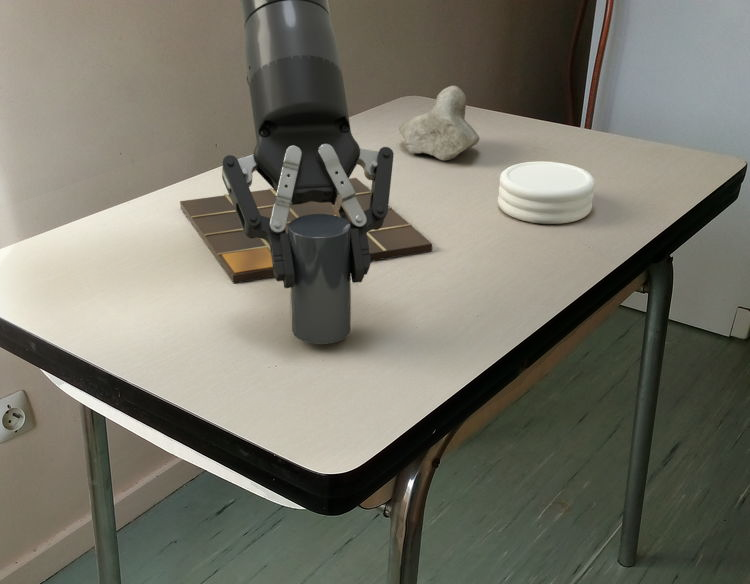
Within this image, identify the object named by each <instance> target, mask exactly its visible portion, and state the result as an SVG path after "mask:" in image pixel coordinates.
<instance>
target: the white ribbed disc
mask: <svg viewBox="0 0 750 584" xmlns="http://www.w3.org/2000/svg"><path fill="white" fill-rule="evenodd" d="M595 188H596V180H595V178H594V176H593V175H592V174H591V173H590V172H589V171H587V170H586V169H583V168H582V167H579V166H576V165H572V164H568V163H563V162H557V161H543V160H541V161H527V162H521V163H516V164H513V165H511V166H508V167H507V168H506V169H504V170H503V171H502V172H501V173H500V175H499V187H498V197H497V205H498V207H499V209H500V210H501V211H502V212H503V213H504V214H506V215H508V216H510V217H511V218H513V219H516V220H519V221H524V222H528V223H534V224H540V225H541V224H542V225H559V224H561V225H562V224H568V223H569V224H570V223H572V222H576V221H579V220H582V219H583V218H586V216H588V215H589V214H590V213H591V211H592V209H593V200H594V197H595V193H594V190H595Z"/></svg>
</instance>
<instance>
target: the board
mask: <svg viewBox="0 0 750 584" xmlns="http://www.w3.org/2000/svg"><path fill="white" fill-rule="evenodd" d="M349 181H350V183H351V185H352V187H353V188H354V191H355V194H356V198H357V201H358V202H359V204H360V206H361V208H362V210H363V211H365V210H367V209H369V206H370V197H371V188H369V187H368V186H367V185H365V184H364V183H363V182H362V181H361V180H359V179H358V178H357V177H349ZM251 194H252V196H253V198H254V201H255V203H256V206H257V208H258V211H259V213H260V215H261V216H264V217H268V218H271V216H272V212H273V208H274V203H275V198H276V194H277V192H276V191H275V190H274V189H273V188H272V187H269V188H268V189H261V190H260V189H259V190H254V191H251ZM179 205H180V210H181V211H182V212H183V214H184V215H185V216H186V218H187V219H188V221H189V223H190V224H191V225H192V227H193V228H194V229H195V231H196V232H197V234H198V235H199V237H200V238H201V239H202V241H203V242H204V243H205V245H206V247H207V248H208V249H209V250H210V252H211V253H212V255H213V256H214V258H215V259H216V261H217V262H218V263H219V265H220V267H221V268H222V269H223V270H224V272H225V273H226V275H227V276H228V277H229V279H230V281H231V282H232V283H233V284H237V283H243V282H251V281H256V280H262V279H269V278H275V277H274V273H273V265H272V258H271V251H270V245H269V243H268V242H267V241H266V240H264V239H262V238H258V237H256V238H249V237H247V236H246V235H245V233H244V230H243V228H242V225H241V223H240V221H239V218H238V216H237V213H236V211H235V208H234V206H233V203H232V201H231V198H230V196H229V194H228V193H225V194H224V195H215V196H210V197H209V196H208V197H202V198H201V197H200V198H194V199H186V200H180V201H179ZM312 214H328V215H334V216H336V215H335V213H334V211H333V209H332V207H331V206H330V204H329V202H326V203H319V202H314V201H309V202H306V203H303V204H296V205H292V202H291V207H290V211H289V216H288V220H287V224H286V228H285V231H286V233H288V225H289V223H290V222H291V221H292V220H294V219H296V218H298V217H301V216H305V215H312ZM367 238H368V245H369V252H370V258H371V262H373V261H379V260H385V259H390V258H391V259H392V258H398V257H403V256H410V255H416V254H423V253H429V252H432V251H433V243H432V242H431V241H430V240H428V239H427V238H426V237H425V236H424V235H423V234H422V233H421V232H419V230H417V229H416V228H415V227H414V226H413V225H412V223H409V222H408V221H407V220H406V219H405V218H403V217H402V216H401V215H400V214H399V213H397V211H395V210H394V209H393V207H392V206H390V205H388V212H387V215H386V217H385V218H384V221H383V225H382V227H381V228H380V229H378V230H370V231H368V232H367Z"/></svg>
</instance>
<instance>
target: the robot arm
mask: <svg viewBox="0 0 750 584" xmlns="http://www.w3.org/2000/svg"><path fill="white" fill-rule="evenodd" d="M239 2H240V6H241V15H242V22H243V28H244V57H245V66H246V76H245V77H246V82H247V85H248V89H249V95H250V103H251V109H252V119H253V125H254V133H255V140H256V145H255V147H254V149H253V151H252V152H253V153H252V154H250V155H247V156H246V155H245V156H243V157H240V158H237V157H236V156H235V155H231V154H229V155H228V154H227V155H226V156H224V157H223V159H222V168H221V169H222V170H221V171H222V172H221V179H222V182H223V184H224V186H225V188H226V191H227V195H229V196H230V198H231V201H232V203H233V206H234V208H235V211H236V213H237V216H238V218H239V221H240V223H241V225H242V228H243V230H244V233H245V235H246V236H247V237H249V238H256V237H258V238H262V239H264V240H266V241H267V242H268V243H269V245H270V251H271V258H272V265H273V273H274V277H273V278H274V279H275V280H276V282H282V283H283V288H284V289H291V288H293V287H294V282H295V273H294V266H293V259H292V252H291V245H290V238H289V233H286V231H285V228H286V224H287V220H288V216H289V211H290V207H291V202H292V205H296V204H303V203H306V202H309V201H314V202H319V203H326V202H329V204H330V206H331V207H332V209H333V211H334V213H335V215H336V216H338V217H341V218H344V219H345V220H347V221H348V222H349V224H350V241H351V283H352V284H355V283H362V282H363V279H364V277H365V276H366V275H367V274H368V272H369V270H370V267H371V264H372V261H371V258H370V252H369V245H368V238H367V232H368V231H370V230H378V229H380V228H381V227H382V225H383V221H384V218H385V217H386V215H387V212H388V206H389V204H390V195H391V194H390V193H391V184H392V174H393V165H394V151H393V149H392V148H391V147H388V146H383V147H380V149H379V150H378V151H376V150H371V149H365V148H360V145H359V143H358V142H357V141H356V139H355V138H354V136H353V134H352V130H351V124H350V116H349V109H348V104H347V98H346V91H345V83H344V76H343V71H342V70H343V69H342V63H341V57H340V51H339V45H338V41H337V38H336V34H335V31H334V28H333V24H332V18H331V11H330V7H329V0H240V1H239ZM357 165H358V166H360V167H361V168H362V169H363V173H364V174H363V175H364V177H365V178H366V179H367V180H368V181H371V187H370V190H371V197H370V206H369V209H367V210H365V211H363V210H362V208H361V206H360V204H359V202H358V201H357V198H356V194H355V191H354V188H353V187H352V185H351V183H350V181H349V179H350V178H351V175H352V173H353V172H354V170H355V168H356V167H357ZM254 172H257V173H258V174H259V176H260V177H261V178H263V180H264V181H265V182H266V183H267V184H269V186H270V188H272V189H274V190H275V191H276V192H277V194H276V198H275V203H274V208H273V212H272V216H271V218H268V217H264V216H261V215H260V213H259V211H258V208H257V206H256V203H255V201H254V198H253V196H252V194H251V192H252V191H251V188H250V187H251V186H252V184H253V173H254Z"/></svg>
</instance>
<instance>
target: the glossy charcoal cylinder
mask: <svg viewBox="0 0 750 584" xmlns="http://www.w3.org/2000/svg"><path fill="white" fill-rule="evenodd" d="M288 233H289V238H290V245H291V252H292V259H293V266H294V273H295V282H294V287H293V288H290V308H291V309H290V310H291V331H292V334H293V335H294V337H295V338H297V339H298V340H300V341H301V342H305V343H309V344H315V345H329V344H334V343H338V342H341V341H343V340H344V339H346V338H347V337H348V336H349V335H350V334H351V331H352V323H351V322H352V317H351V316H352V314H351V313H352V309H351V307H352V306H351V305H352V300H351V297H352V294H351V293H352V292H351V291H352V290H351V289H352V287H351V285H352V279H351V241H350V224H349V222H348V221H347V220H345V219H344V218H341V217H338V216H334V215H328V214H312V215H305V216H301V217H298V218H296V219H294V220H292V221H291V222H290V223H289V225H288Z"/></svg>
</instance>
